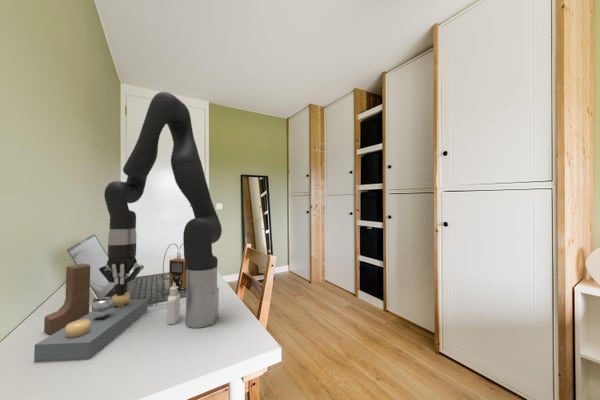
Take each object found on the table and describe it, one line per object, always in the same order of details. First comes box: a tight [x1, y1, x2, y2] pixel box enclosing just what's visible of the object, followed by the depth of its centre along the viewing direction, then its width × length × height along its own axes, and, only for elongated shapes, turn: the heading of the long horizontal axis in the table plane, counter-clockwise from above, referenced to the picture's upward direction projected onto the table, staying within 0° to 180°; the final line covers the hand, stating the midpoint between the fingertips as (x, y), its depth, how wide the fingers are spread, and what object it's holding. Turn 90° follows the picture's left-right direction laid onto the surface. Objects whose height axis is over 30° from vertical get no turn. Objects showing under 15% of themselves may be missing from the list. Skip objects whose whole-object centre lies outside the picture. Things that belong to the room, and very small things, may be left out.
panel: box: [33, 298, 149, 363], centre depth 69 cm, size 12×26×4 cm, turn 6°
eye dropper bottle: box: [166, 283, 181, 325], centre depth 76 cm, size 4×6×12 cm
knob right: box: [111, 291, 131, 307], centre depth 78 cm, size 5×5×6 cm
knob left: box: [66, 319, 90, 338], centre depth 61 cm, size 5×5×6 cm
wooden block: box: [43, 263, 91, 336], centre depth 72 cm, size 9×4×18 cm, turn 153°
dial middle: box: [91, 296, 113, 320], centre depth 70 cm, size 5×5×6 cm
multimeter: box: [162, 243, 187, 288], centre depth 101 cm, size 15×10×20 cm
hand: (121, 294), depth 78 cm, fingers closed
